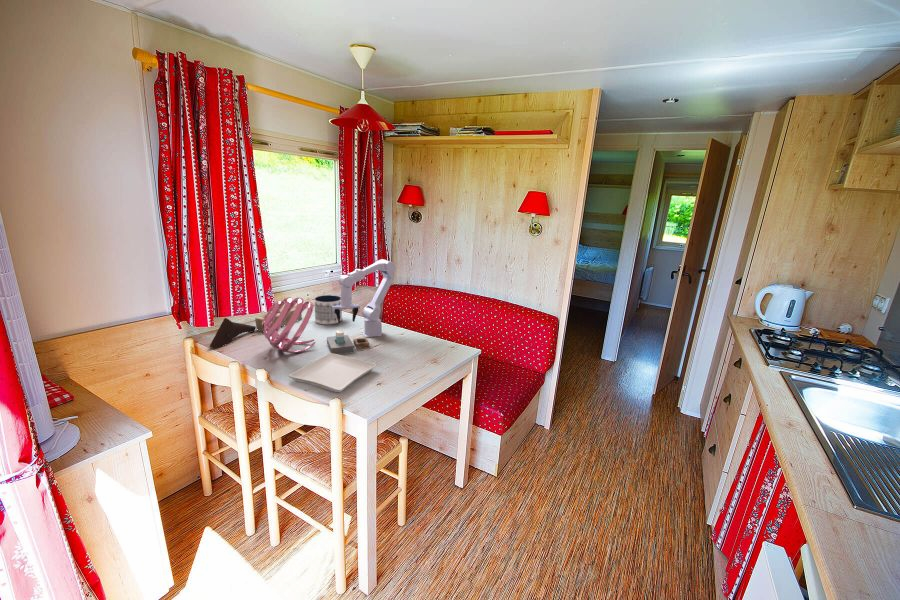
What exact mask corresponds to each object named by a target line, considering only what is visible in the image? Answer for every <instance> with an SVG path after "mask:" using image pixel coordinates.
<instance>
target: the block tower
mask: <svg viewBox="0 0 900 600" xmlns="http://www.w3.org/2000/svg"><path fill="white" fill-rule="evenodd" d="M296 306H297V304H295V306H294V307H293V308H292V309H291V311H290V312H289V314H288V315H287V317H286V318H285V320H284V321H283V323H282V325H281V326H282V327H285V326H286V325H287V324H288V322H289V320H290V318H291V317H292V315H293V313H294V311H295V309H296ZM282 310H283V308H281V309H280V311H279V312H278V314H277V315H276V317H275V319H274V320H273V322H272V324H271V327H272V326H273V325H274V323H275V322H276V320H277V319H278V317H279V315H280V313H281V312H282ZM270 314H271V313H270ZM270 314H269V316H270ZM265 315H266V314H263V315H261V316H257V317H255V318H254V319H255V327H256V329H255V330H257V329H258V330H261V331H260V332H262V331H264V329H263V327H262V323H263V319H264V316H265ZM269 316H268V317H269ZM302 316H303V315H302V313H301V314H300V316H299V317H298V319H297V320H298V321H300V319H301V320H303V317H302ZM297 320H296V322H298V321H297ZM284 325H285V326H284ZM271 327H270V328H271ZM258 330H257V331H258Z"/></svg>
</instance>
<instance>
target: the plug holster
mask: <svg viewBox="0 0 900 600" xmlns="http://www.w3.org/2000/svg"><path fill="white" fill-rule="evenodd" d="M352 340H353V341H352V343H353V345H354V348H356V349H364V348H365V349H366V348H370V342H369V340H368V339H367V337H359V338H353V339H352Z"/></svg>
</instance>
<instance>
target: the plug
mask: <svg viewBox="0 0 900 600" xmlns="http://www.w3.org/2000/svg"><path fill="white" fill-rule="evenodd" d="M344 335H345V333H344V331H343V329H340V330H338V329H337V330H336V331H335V336H336V344H340V343H344Z"/></svg>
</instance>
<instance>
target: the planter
mask: <svg viewBox="0 0 900 600" xmlns="http://www.w3.org/2000/svg"><path fill="white" fill-rule="evenodd" d="M313 301H314V303H313V304H314V322H316V323H317V324H321V325H334V324H339V323H338V318H337V315H336V313H335V311H334V310H332V306H336V305H341V296H339V295H334V294H325V295H319V296H318V295H317V296H316V297H315V298H314V300H313ZM342 316H343V309H340V322H341V321H342V320H343V317H342Z"/></svg>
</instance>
